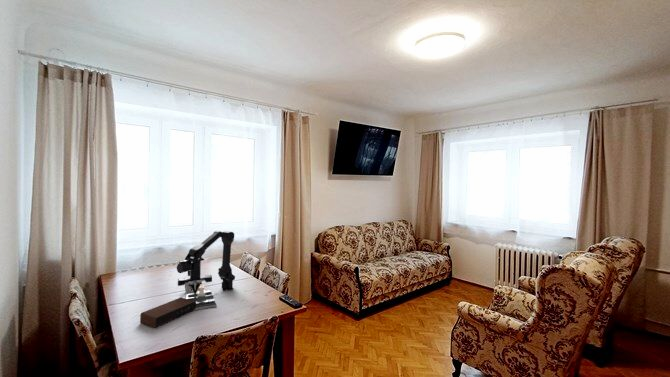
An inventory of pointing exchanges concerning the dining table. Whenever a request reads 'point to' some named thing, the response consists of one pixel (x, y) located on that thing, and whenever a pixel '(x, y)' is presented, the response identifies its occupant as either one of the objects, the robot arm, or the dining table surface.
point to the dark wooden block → (167, 312)
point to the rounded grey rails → (205, 306)
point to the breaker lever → (201, 291)
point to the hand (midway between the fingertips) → (195, 294)
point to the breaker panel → (202, 298)
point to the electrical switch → (189, 287)
